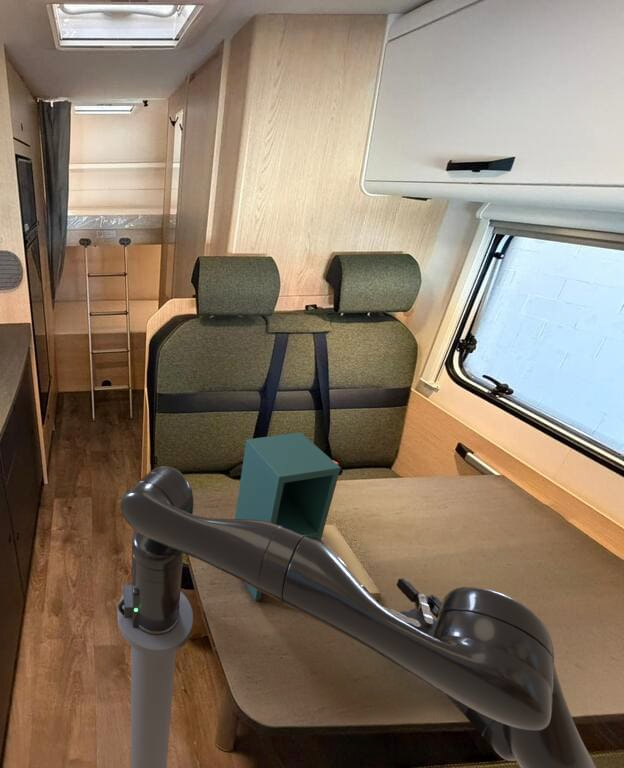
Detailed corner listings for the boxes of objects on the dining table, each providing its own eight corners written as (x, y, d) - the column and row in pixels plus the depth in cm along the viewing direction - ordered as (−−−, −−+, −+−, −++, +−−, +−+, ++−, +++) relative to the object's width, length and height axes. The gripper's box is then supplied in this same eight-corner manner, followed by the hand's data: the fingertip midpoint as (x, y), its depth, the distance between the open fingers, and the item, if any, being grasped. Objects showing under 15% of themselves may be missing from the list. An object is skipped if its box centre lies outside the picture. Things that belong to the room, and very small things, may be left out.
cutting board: (325, 601, 86) (327, 594, 85) (288, 531, 103) (289, 525, 103) (378, 599, 86) (380, 592, 86) (332, 530, 104) (334, 524, 103)
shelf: (229, 555, 97) (246, 439, 83) (276, 546, 99) (300, 432, 85) (255, 601, 87) (279, 477, 73) (307, 590, 89) (340, 467, 75)
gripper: (504, 648, 66) (417, 564, 80) (427, 668, 63) (351, 578, 78) (486, 676, 69) (405, 591, 83) (412, 696, 66) (342, 605, 81)
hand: (379, 585), depth 80 cm, fingers open, 8 cm apart
